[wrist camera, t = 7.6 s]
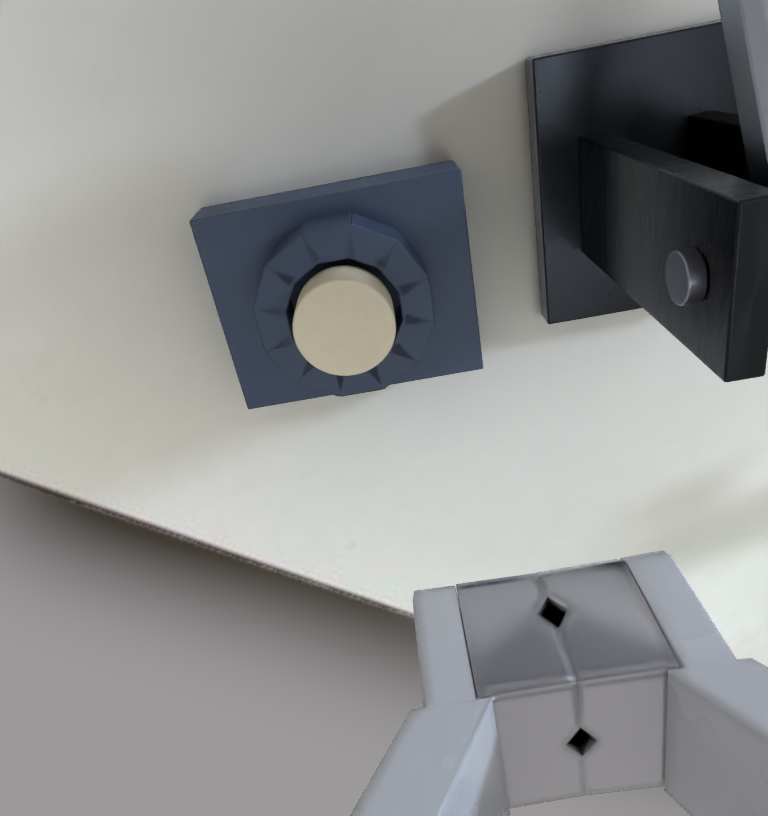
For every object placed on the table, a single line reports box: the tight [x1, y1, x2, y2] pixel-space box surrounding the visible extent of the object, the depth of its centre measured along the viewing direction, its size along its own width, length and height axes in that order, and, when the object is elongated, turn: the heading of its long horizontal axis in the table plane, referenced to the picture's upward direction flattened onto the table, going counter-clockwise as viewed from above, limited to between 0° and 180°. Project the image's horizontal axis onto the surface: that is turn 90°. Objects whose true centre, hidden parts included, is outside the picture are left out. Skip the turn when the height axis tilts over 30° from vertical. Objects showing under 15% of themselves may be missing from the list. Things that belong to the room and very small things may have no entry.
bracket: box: [525, 20, 768, 382], centre depth 21 cm, size 10×8×13 cm
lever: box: [718, 0, 768, 188], centre depth 17 cm, size 12×4×4 cm
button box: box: [190, 160, 483, 409], centre depth 26 cm, size 8×10×4 cm
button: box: [292, 265, 396, 376], centre depth 24 cm, size 4×4×2 cm
